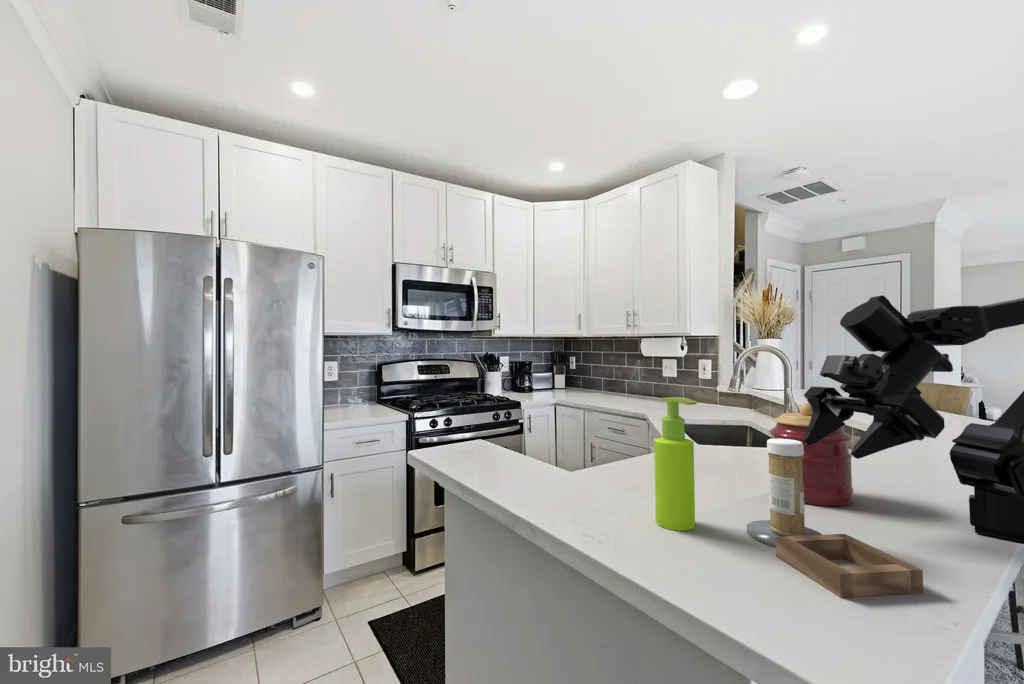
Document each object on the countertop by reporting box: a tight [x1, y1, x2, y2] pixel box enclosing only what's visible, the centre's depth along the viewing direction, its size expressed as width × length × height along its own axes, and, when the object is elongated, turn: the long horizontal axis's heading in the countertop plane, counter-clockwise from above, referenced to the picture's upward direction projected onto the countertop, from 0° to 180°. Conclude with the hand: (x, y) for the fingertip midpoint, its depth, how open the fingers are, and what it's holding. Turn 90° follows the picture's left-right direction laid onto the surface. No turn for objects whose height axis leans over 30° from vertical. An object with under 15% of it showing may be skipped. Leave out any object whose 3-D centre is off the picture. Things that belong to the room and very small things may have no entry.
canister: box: [768, 402, 854, 507], centre depth 82 cm, size 13×13×18 cm
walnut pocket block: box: [775, 533, 924, 599], centre depth 52 cm, size 10×10×2 cm
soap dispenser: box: [653, 396, 698, 532], centre depth 68 cm, size 6×7×20 cm
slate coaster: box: [746, 519, 823, 548], centre depth 63 cm, size 10×10×1 cm
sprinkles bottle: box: [766, 438, 806, 536], centre depth 63 cm, size 5×5×13 cm
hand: (828, 449), depth 64 cm, fingers open, 9 cm apart
